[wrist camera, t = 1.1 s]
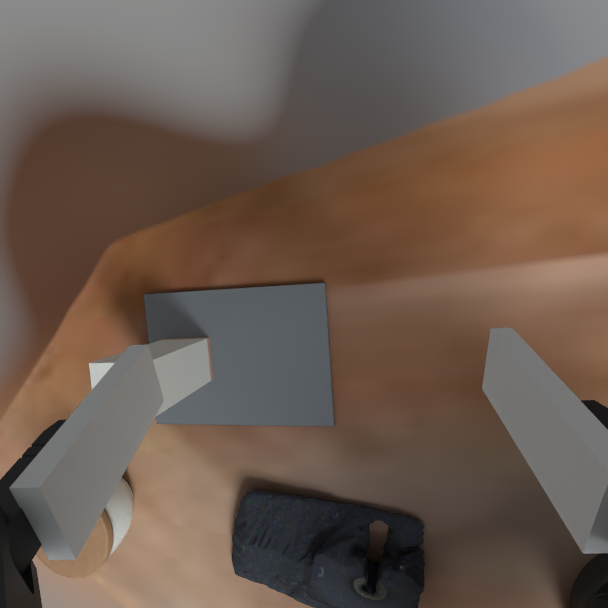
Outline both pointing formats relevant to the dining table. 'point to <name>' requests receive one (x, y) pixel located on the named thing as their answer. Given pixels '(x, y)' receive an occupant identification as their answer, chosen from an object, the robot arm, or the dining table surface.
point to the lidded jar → (99, 536)
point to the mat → (252, 354)
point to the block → (171, 367)
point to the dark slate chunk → (327, 552)
